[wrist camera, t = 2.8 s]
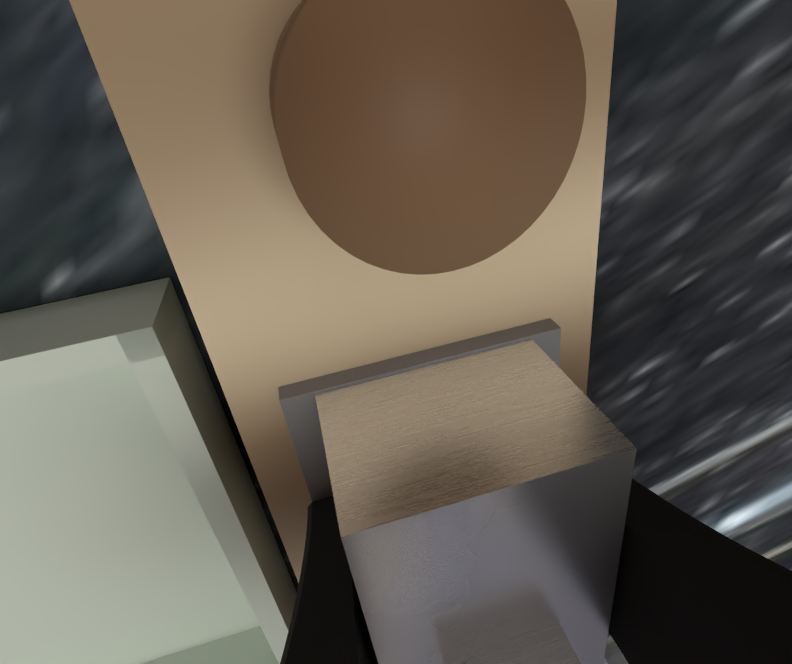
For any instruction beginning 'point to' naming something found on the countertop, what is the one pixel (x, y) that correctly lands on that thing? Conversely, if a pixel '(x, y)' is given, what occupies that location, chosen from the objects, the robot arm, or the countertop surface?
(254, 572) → the parts tray
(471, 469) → the lever cap
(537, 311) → the hand plane
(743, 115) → the countertop surface
